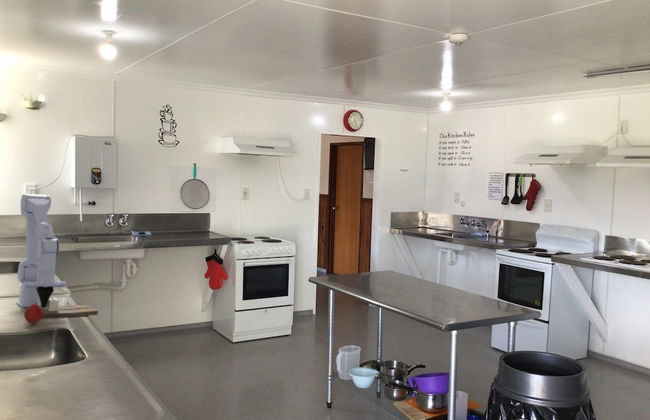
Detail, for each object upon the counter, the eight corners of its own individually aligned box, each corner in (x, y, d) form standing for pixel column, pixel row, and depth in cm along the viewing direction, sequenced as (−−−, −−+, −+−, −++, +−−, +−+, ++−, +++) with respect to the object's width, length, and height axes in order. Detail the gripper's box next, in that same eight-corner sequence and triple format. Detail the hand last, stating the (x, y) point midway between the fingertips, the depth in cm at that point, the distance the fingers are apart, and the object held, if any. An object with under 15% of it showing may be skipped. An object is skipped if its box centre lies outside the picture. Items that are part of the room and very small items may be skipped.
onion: (21, 326, 191) (23, 303, 190) (26, 322, 196) (27, 300, 196) (40, 327, 192) (42, 304, 192) (44, 323, 198) (45, 300, 198)
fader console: (30, 311, 212) (30, 307, 212) (87, 308, 225) (87, 304, 225) (38, 318, 203) (38, 314, 202) (97, 314, 216) (97, 310, 216)
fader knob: (45, 308, 212) (46, 297, 212) (54, 307, 214) (54, 297, 214) (49, 311, 208) (50, 300, 208) (57, 310, 210) (58, 299, 210)
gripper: (27, 273, 201) (24, 310, 201) (69, 272, 210) (67, 308, 211) (22, 269, 206) (20, 306, 207) (64, 269, 216) (61, 304, 216)
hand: (43, 307), depth 209 cm, fingers closed
